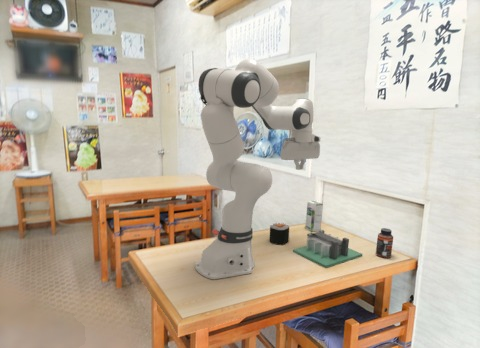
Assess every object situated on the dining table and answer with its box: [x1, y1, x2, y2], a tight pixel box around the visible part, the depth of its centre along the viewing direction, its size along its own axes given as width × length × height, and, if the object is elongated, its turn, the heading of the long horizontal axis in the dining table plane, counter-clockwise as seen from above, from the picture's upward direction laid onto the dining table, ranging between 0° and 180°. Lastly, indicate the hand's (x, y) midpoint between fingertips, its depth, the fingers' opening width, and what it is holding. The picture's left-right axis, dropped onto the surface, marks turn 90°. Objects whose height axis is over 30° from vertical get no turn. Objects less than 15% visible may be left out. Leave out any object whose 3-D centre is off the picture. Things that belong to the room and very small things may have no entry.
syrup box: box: [304, 199, 324, 233], centre depth 171 cm, size 6×6×14 cm
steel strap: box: [312, 231, 343, 245], centre depth 141 cm, size 4×13×1 cm, turn 34°
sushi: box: [268, 222, 290, 246], centre depth 154 cm, size 8×8×8 cm
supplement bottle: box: [375, 227, 394, 259], centre depth 142 cm, size 6×6×11 cm
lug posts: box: [330, 237, 350, 260], centre depth 137 cm, size 8×2×7 cm, turn 124°
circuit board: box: [292, 245, 363, 269], centre depth 142 cm, size 22×18×1 cm
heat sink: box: [305, 229, 342, 258], centre depth 143 cm, size 14×13×6 cm
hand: (299, 169), depth 149 cm, fingers closed
